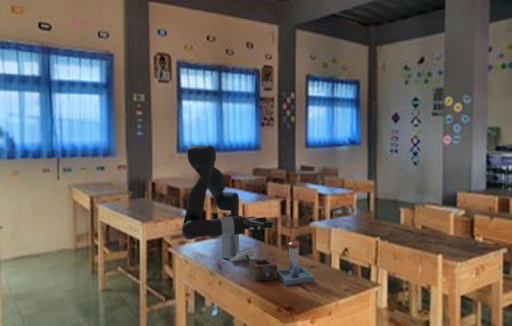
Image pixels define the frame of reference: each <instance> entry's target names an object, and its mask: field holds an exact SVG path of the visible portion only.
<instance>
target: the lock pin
mask: <svg viewBox="0 0 512 326" xmlns="http://www.w3.org/2000/svg"><path fill="white" fill-rule="evenodd" d="M287 245H288V253H289V254H288V255H289V256H288V257H289V269H290V278H292V279H293V278H299V268H300V258H299V257H300V252H299V249H300V248H299V247H300V241H295V240H293V241H289V242H287Z"/></svg>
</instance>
